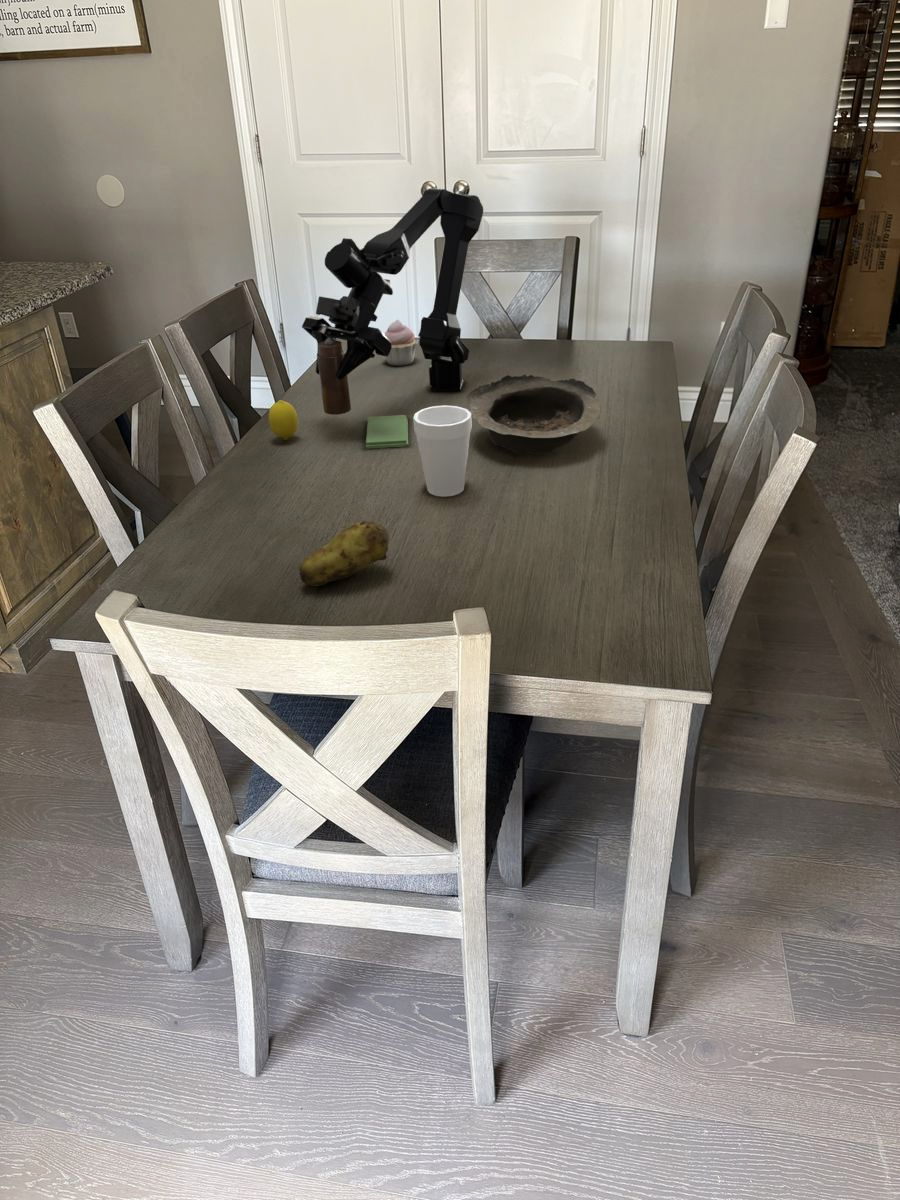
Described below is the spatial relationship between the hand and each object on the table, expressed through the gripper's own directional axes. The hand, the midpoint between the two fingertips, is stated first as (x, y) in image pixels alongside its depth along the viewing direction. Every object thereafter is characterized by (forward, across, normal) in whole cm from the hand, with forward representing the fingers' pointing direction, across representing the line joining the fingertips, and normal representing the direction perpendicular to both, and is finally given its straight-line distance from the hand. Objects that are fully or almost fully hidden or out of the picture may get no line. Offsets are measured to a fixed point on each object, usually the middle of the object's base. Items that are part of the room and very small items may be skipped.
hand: (327, 376), depth 162 cm
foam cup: (+13, +32, +4) cm, 35 cm away
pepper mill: (+4, 0, +6) cm, 7 cm away
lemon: (+13, -8, +5) cm, 16 cm away
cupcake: (-22, -21, +40) cm, 50 cm away
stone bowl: (-5, +33, +23) cm, 41 cm away
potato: (+35, +39, -18) cm, 55 cm away
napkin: (+4, +7, +14) cm, 16 cm away
